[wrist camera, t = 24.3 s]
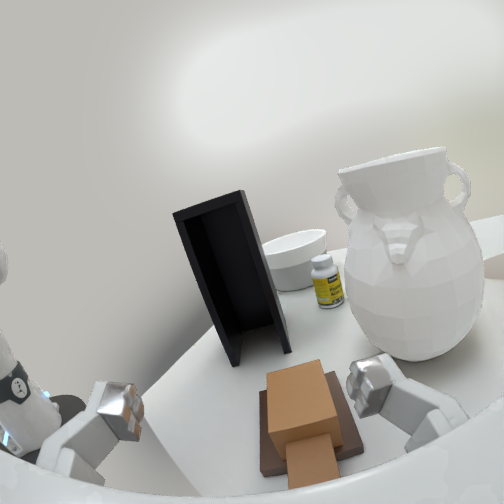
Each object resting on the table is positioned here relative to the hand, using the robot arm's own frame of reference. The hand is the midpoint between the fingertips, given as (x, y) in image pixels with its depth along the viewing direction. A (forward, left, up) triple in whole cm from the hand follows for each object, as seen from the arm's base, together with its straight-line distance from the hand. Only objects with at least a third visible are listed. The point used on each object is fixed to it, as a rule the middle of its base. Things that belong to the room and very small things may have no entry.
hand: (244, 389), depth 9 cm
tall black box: (-5, +36, -19) cm, 41 cm away
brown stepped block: (+1, +8, -17) cm, 19 cm away
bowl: (+7, +62, -19) cm, 65 cm away
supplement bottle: (+10, +43, -19) cm, 48 cm away
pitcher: (+18, +21, -19) cm, 34 cm away
